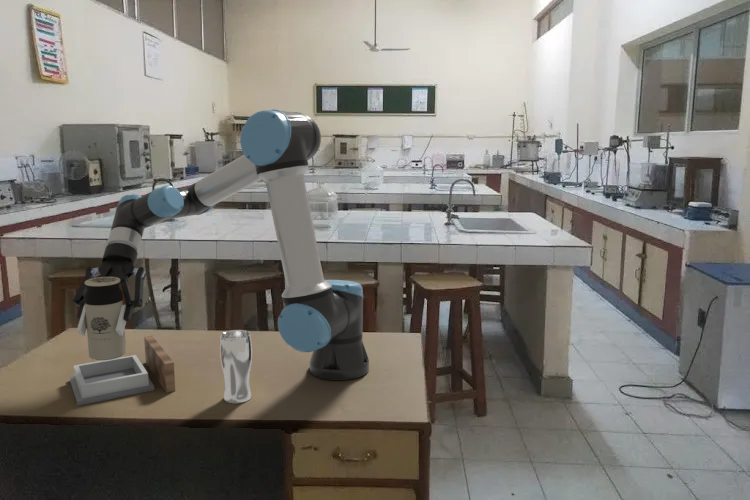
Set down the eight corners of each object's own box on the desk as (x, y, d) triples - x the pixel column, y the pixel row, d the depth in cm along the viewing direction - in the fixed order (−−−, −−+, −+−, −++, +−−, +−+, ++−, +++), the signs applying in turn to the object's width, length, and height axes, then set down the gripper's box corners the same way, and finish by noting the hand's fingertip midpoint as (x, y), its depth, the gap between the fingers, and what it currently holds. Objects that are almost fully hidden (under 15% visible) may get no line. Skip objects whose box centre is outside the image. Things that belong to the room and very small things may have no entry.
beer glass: (233, 389, 138) (231, 327, 135) (259, 394, 135) (257, 331, 132) (215, 401, 131) (212, 337, 128) (241, 406, 129) (239, 341, 126)
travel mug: (102, 348, 142) (97, 275, 139) (133, 350, 141) (128, 277, 138) (81, 359, 135) (75, 283, 131) (113, 362, 134) (108, 285, 130)
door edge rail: (175, 390, 136) (173, 362, 135) (166, 392, 135) (164, 364, 134) (153, 361, 155) (152, 335, 153) (145, 362, 153) (144, 336, 152)
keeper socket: (154, 390, 137) (153, 373, 136) (77, 405, 128) (76, 388, 127) (140, 367, 150) (139, 352, 149) (69, 380, 141) (68, 364, 141)
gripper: (168, 258, 150) (150, 340, 137) (85, 258, 149) (59, 340, 136) (160, 241, 144) (141, 325, 131) (73, 240, 143) (46, 325, 130)
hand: (100, 332), depth 133 cm, fingers closed on travel mug, 8 cm apart
